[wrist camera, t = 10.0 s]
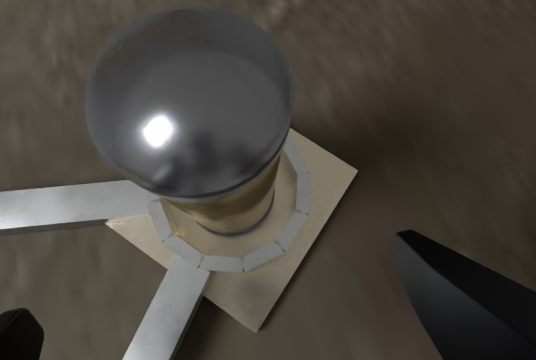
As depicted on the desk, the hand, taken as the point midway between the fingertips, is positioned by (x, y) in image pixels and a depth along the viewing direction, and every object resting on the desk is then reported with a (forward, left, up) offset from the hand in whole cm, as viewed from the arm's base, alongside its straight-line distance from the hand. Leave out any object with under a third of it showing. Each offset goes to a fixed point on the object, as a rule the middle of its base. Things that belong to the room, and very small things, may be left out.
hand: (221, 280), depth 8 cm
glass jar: (+3, -3, -12) cm, 13 cm away
